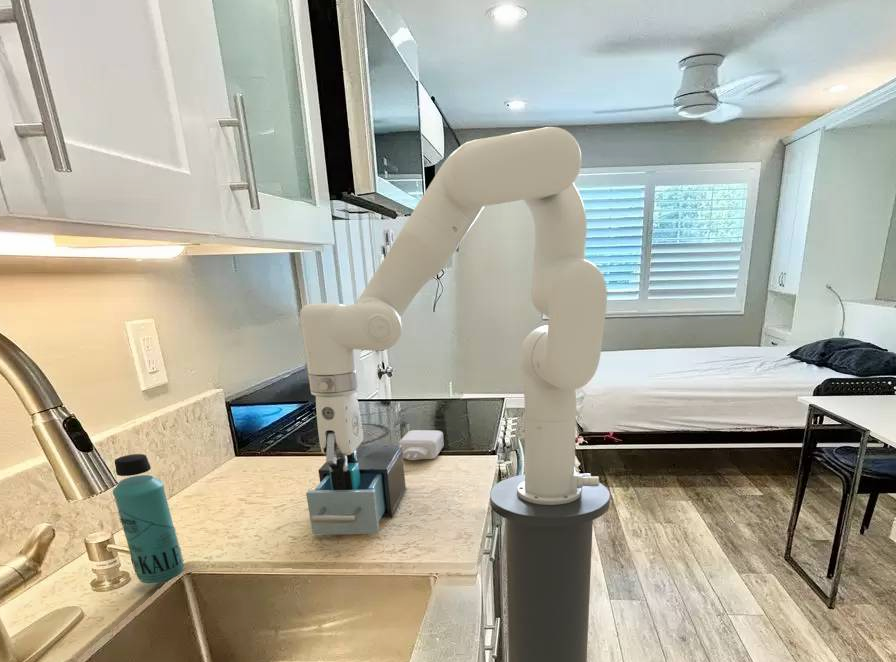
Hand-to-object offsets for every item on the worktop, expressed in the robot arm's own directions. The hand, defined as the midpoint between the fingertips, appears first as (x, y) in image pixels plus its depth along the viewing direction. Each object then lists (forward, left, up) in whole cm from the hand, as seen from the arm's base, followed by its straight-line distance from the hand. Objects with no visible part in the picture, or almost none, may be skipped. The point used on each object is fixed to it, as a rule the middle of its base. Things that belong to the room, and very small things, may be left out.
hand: (346, 486), depth 100 cm
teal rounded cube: (0, 0, 0) cm, 0 cm away
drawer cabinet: (0, -12, -8) cm, 14 cm away
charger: (-6, -40, -8) cm, 41 cm away
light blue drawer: (0, 0, -7) cm, 7 cm away
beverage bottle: (+24, +18, -8) cm, 31 cm away
